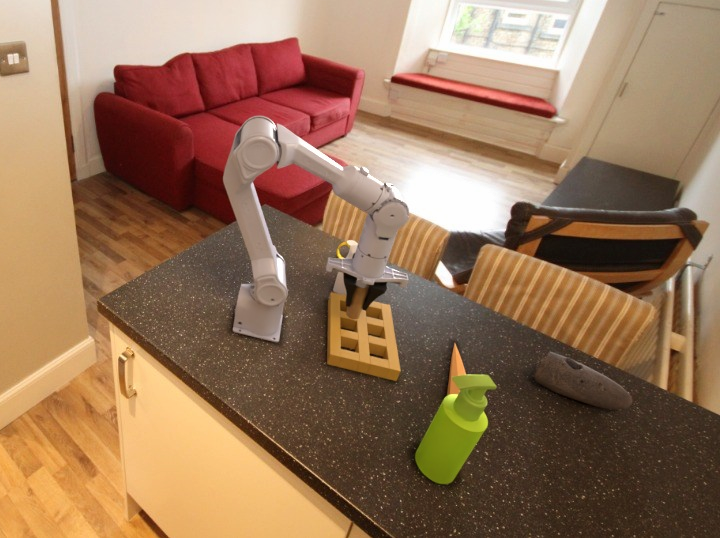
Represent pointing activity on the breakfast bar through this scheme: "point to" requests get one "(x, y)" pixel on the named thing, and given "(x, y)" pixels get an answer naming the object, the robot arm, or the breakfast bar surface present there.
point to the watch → (348, 243)
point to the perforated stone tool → (580, 383)
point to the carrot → (455, 371)
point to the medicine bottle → (339, 282)
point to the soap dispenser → (455, 429)
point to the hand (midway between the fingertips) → (355, 305)
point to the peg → (357, 300)
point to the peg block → (362, 339)
